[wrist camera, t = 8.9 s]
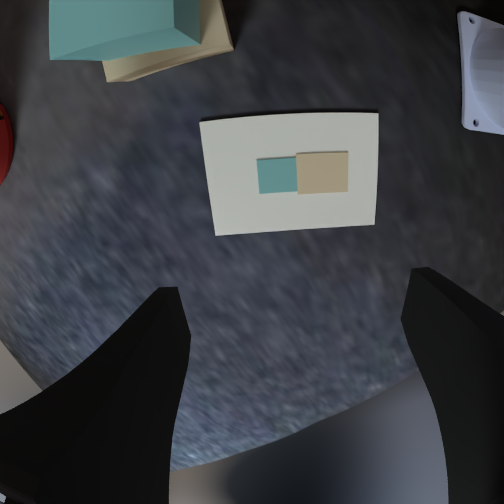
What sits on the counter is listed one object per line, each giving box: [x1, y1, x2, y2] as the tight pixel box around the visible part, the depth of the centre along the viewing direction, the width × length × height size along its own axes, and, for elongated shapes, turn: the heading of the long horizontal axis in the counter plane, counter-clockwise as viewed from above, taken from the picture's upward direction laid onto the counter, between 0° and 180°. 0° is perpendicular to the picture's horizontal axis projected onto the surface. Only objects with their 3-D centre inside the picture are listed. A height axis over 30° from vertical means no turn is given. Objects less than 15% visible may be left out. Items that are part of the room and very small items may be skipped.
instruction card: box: [199, 112, 378, 236], centre depth 18 cm, size 10×7×1 cm
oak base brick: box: [102, 0, 234, 82], centre depth 12 cm, size 6×6×4 cm
